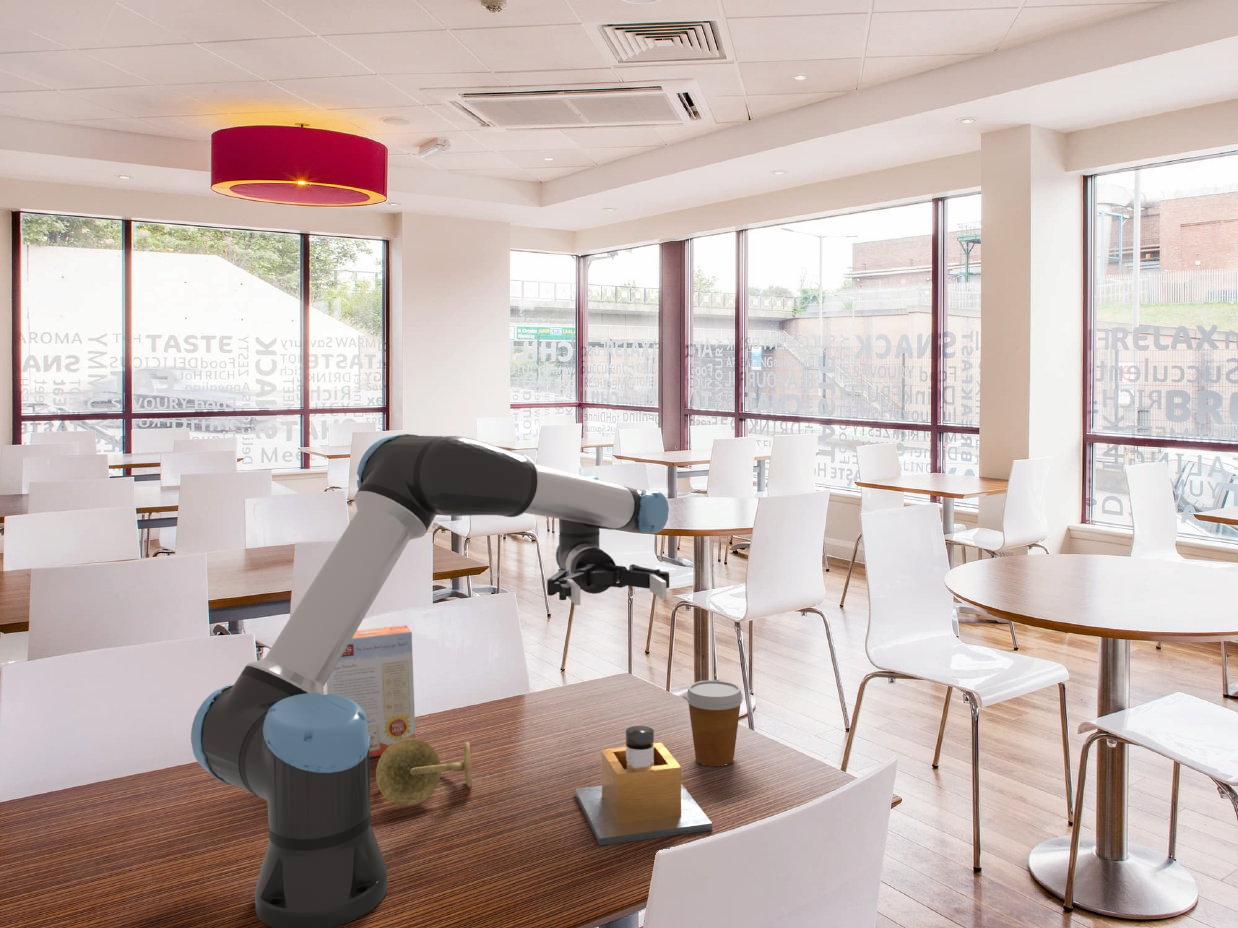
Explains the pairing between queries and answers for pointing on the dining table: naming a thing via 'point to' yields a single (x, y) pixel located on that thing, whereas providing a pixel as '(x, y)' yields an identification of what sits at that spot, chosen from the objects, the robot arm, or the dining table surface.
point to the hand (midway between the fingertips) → (621, 593)
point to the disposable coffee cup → (714, 720)
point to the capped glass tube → (639, 747)
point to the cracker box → (379, 683)
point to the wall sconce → (414, 771)
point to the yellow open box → (640, 800)
